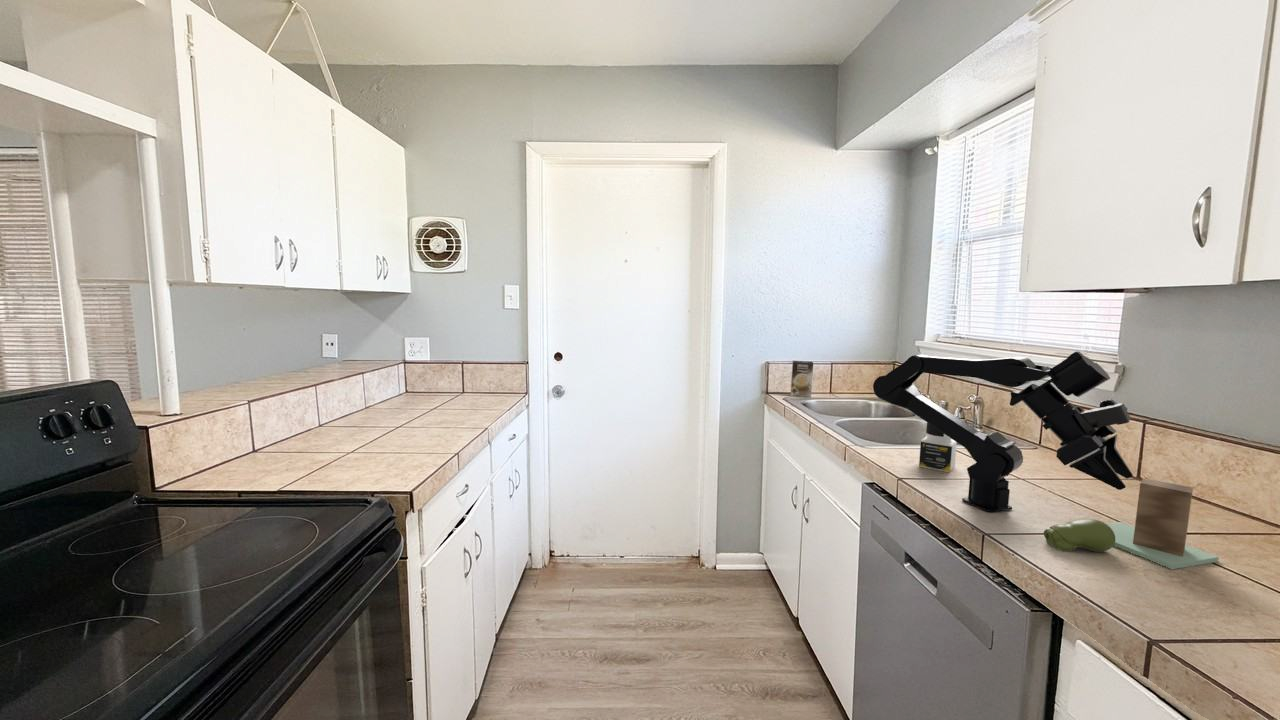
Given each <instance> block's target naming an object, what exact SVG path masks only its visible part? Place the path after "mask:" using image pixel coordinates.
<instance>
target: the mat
mask: <svg viewBox="0 0 1280 720" xmlns="http://www.w3.org/2000/svg"><path fill="white" fill-rule="evenodd" d="M1106 524H1107V525H1108V526H1109V527H1110V528H1111V529H1112V530H1113V532H1114V534H1115V544H1114V546H1116V547H1115V548H1117V547H1119V548H1121V549H1120V550H1122V549H1124V550H1126V551H1125V552H1127V551H1129V552H1132V553H1134V554H1136V555H1135V556H1137V555H1139V556H1141V557H1140V558H1142V557H1144V558H1146V559H1145V560H1147V559H1149V560H1151V561H1150V562H1152V561H1153V562H1152V563H1154V562H1156V563H1155V564H1157V563H1158V564H1157V565H1159V564H1160V565H1159V566H1162V565H1163V566H1162V567H1164V566H1166V567H1165V568H1167V567H1168V568H1167V569H1169V568H1170V570H1171V569H1172V570H1177V568H1178V569H1183V568H1189V567H1193V566H1194V567H1195V566H1199V565H1200V566H1201V565H1205V564H1212V563H1213V564H1214V563H1218V562H1219V561H1220V560H1219V559H1220V557H1219V556H1218V555H1214V554H1212V553H1210V552H1206V551H1203V550H1200V549H1198V548H1195V547H1192V546H1189V545H1188V544H1187V545H1186V544H1185V550H1184V554H1183V557H1181V556H1177V555H1174V554H1170V553H1166V552H1162V551H1158V550H1155V549H1151V548H1147V547H1143V546H1140V545H1136V544H1133V538H1134V530H1135V525H1130V524H1128V523H1126V522H1123V521H1118V522H1111V523H1106ZM1114 546H1113V547H1114ZM1119 548H1118V549H1119ZM1124 550H1123V551H1124ZM1129 552H1128V553H1129ZM1132 553H1131V554H1132ZM1134 554H1133V555H1134ZM1139 556H1138V557H1139ZM1144 558H1143V559H1144ZM1149 560H1148V561H1149Z"/></svg>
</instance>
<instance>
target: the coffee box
mask: <svg viewBox="0 0 1280 720" xmlns="http://www.w3.org/2000/svg"><path fill="white" fill-rule="evenodd" d="M791 365H792V367H791V381H790V383H791V384H790V397H795V398H796V397H797V398H810V399H811V398H812V391H813V374H814V362H813V361H808V360H806V361H805V360H792V363H791Z"/></svg>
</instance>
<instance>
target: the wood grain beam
mask: <svg viewBox="0 0 1280 720" xmlns="http://www.w3.org/2000/svg"><path fill="white" fill-rule="evenodd" d="M1193 490H1194V487H1192V486H1186V485H1181V484H1176V483H1172V482H1166V481H1165V482H1164V481H1161V480H1155V479H1150V478H1145V477H1143V478H1142V479H1141V481H1140V483H1139V492H1138V501H1137V507H1136V514H1135V524H1134V527H1135V530H1134V538H1133V544H1136V545H1140V546H1143V547H1147V548H1151V549H1155V550H1158V551H1162V552H1166V553H1170V554H1174V555H1177V556H1181V557H1183V554H1184V550H1185V545H1186V543H1187V542H1186V541H1187V535H1188V534H1187V533H1188V528H1189V520H1190V519H1189V518H1190V512H1191V505H1192V497H1193V492H1194V491H1193Z"/></svg>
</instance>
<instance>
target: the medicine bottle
mask: <svg viewBox="0 0 1280 720" xmlns="http://www.w3.org/2000/svg"><path fill="white" fill-rule="evenodd" d="M925 434H926V436H925V437H924V438H922V439H921V440H920V447H919V448H920V449H919V461H918V462H919V463H918V466H919V467H921V468H924V469H930V470H935V471H940V472H945V473H951V472H952V470H953V469H954V468H955V466H956V460H957V459H956V456H957V445H958V443H957V442H956V441H954V440H953V439H951V438H950V437H948V436H947V435H945V434H944V433H942V432H941V431H939V430H938V429H936V428H935V427H933V426H932V425H930V424H929V423H927V422H926V430H925Z"/></svg>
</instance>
